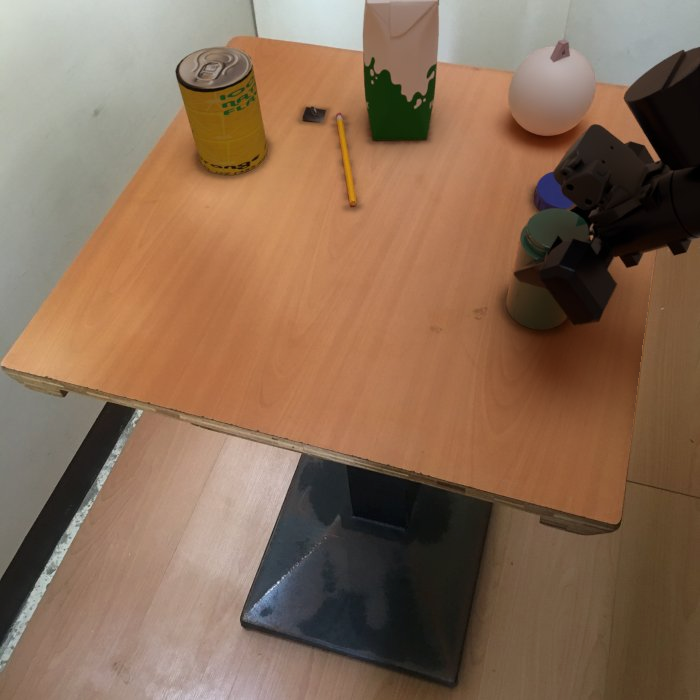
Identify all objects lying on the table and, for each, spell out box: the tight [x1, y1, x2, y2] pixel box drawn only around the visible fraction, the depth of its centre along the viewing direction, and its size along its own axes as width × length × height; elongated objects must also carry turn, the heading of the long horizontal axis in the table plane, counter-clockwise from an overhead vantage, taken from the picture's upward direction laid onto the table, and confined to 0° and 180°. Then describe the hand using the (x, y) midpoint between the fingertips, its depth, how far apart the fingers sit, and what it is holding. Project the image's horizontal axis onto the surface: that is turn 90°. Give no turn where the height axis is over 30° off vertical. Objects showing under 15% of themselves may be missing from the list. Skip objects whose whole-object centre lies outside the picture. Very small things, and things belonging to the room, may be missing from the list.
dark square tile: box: [302, 105, 327, 124], centre depth 88 cm, size 3×3×1 cm
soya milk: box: [362, 0, 440, 141], centre depth 79 cm, size 9×9×20 cm
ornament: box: [507, 38, 597, 137], centre depth 80 cm, size 10×10×12 cm
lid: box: [533, 170, 574, 212], centre depth 75 cm, size 7×7×2 cm
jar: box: [505, 208, 592, 331], centre depth 63 cm, size 6×6×11 cm
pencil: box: [335, 112, 357, 207], centre depth 82 cm, size 1×18×1 cm, turn 6°
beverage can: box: [174, 46, 269, 176], centre depth 80 cm, size 9×9×12 cm
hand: (530, 253), depth 62 cm, fingers closed on jar, 6 cm apart
